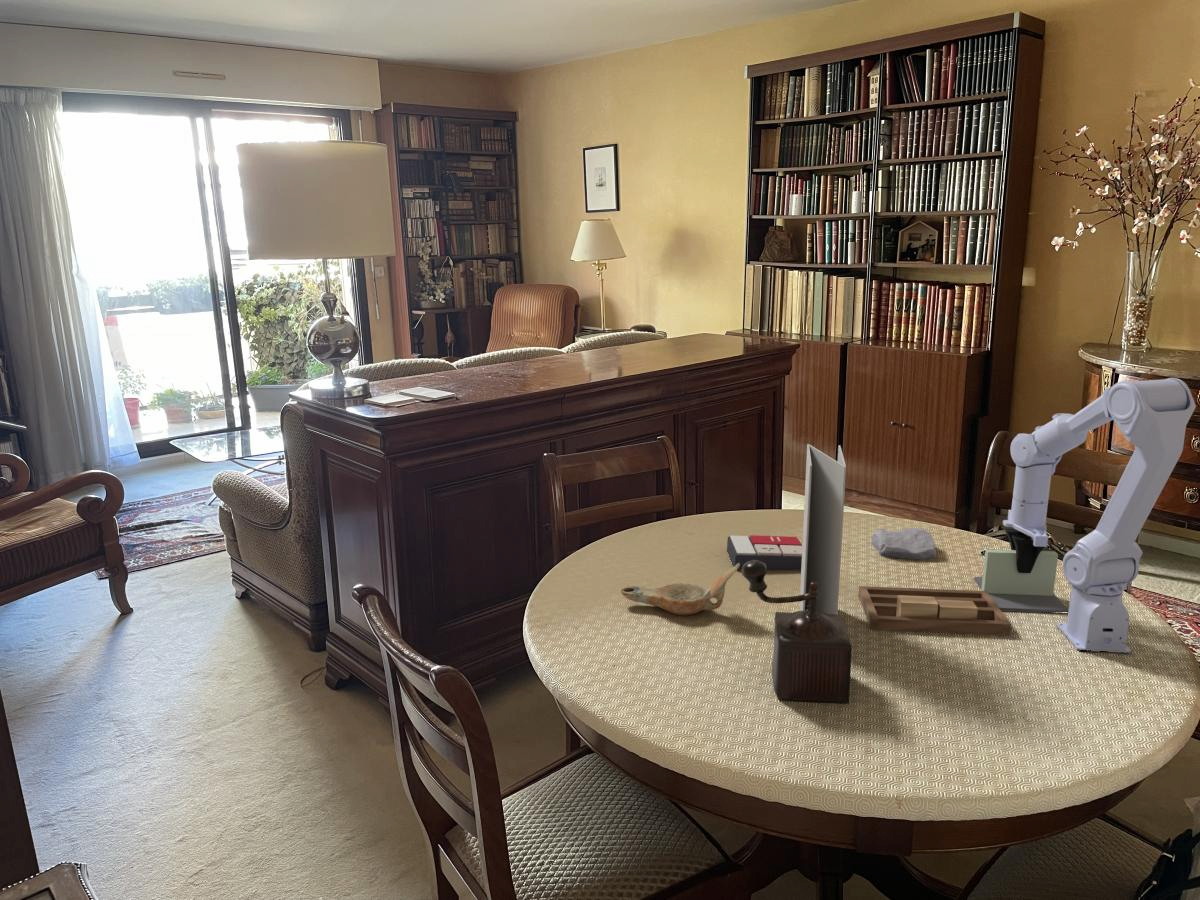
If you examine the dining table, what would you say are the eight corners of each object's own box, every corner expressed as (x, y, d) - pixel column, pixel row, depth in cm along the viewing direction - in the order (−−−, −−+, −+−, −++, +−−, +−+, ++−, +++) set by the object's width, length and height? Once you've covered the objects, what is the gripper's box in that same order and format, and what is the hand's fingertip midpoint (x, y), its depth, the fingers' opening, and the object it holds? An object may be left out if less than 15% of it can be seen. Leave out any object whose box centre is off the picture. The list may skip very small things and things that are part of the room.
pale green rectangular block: (1052, 595, 156) (1058, 554, 154) (983, 593, 157) (988, 552, 155) (1049, 592, 157) (1054, 551, 155) (981, 589, 159) (985, 549, 157)
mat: (1068, 613, 150) (1069, 610, 150) (996, 610, 152) (997, 607, 151) (1039, 582, 163) (1040, 579, 163) (974, 579, 165) (974, 576, 165)
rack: (1009, 635, 142) (1011, 624, 142) (871, 629, 145) (871, 618, 145) (985, 601, 155) (986, 591, 155) (858, 596, 158) (859, 586, 158)
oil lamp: (735, 626, 147) (736, 572, 145) (615, 613, 153) (614, 561, 150) (740, 605, 155) (742, 554, 153) (626, 594, 161) (626, 544, 158)
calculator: (811, 554, 170) (735, 551, 170) (808, 574, 171) (734, 571, 171) (798, 534, 181) (727, 532, 181) (796, 554, 182) (726, 551, 182)
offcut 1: (935, 628, 146) (938, 604, 144) (899, 626, 146) (901, 602, 145) (931, 620, 148) (933, 596, 147) (895, 619, 149) (897, 595, 148)
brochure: (835, 642, 141) (846, 467, 133) (801, 640, 142) (809, 465, 134) (831, 606, 154) (840, 445, 147) (799, 604, 155) (807, 444, 148)
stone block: (939, 568, 176) (926, 542, 185) (941, 548, 174) (928, 523, 183) (880, 569, 177) (869, 543, 186) (881, 549, 175) (871, 524, 184)
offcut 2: (975, 630, 145) (977, 608, 144) (938, 628, 145) (940, 607, 144) (970, 622, 148) (972, 601, 147) (934, 620, 148) (936, 599, 147)
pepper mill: (839, 666, 133) (845, 558, 129) (850, 704, 122) (858, 588, 118) (738, 662, 135) (741, 555, 131) (740, 699, 124) (744, 584, 120)
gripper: (994, 486, 160) (987, 554, 164) (1020, 511, 146) (1012, 585, 150) (1033, 487, 159) (1025, 555, 163) (1064, 512, 145) (1054, 586, 149)
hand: (1022, 570), depth 156 cm, fingers closed on pale green rectangular block, 2 cm apart
